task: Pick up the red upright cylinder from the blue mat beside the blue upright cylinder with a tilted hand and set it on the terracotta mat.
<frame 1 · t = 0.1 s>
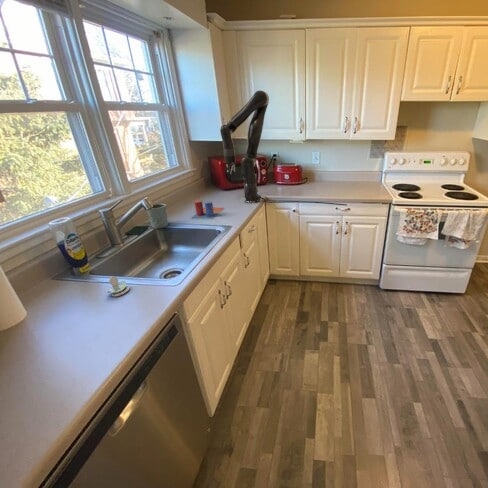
hand: (231, 178, 204), 17 cm above the countertop, tool pointing down, fingers open, 8 cm apart
terracotta mat: (212, 209, 191), on the countertop
drinking glass: (160, 225, 163), on the countertop
red upright cylinder: (200, 214, 180), resting on blue mat
blue upright cylinder: (210, 215, 179), resting on blue mat
blue mat: (205, 216, 179), on the countertop
pacifier: (119, 292, 102), on the countertop
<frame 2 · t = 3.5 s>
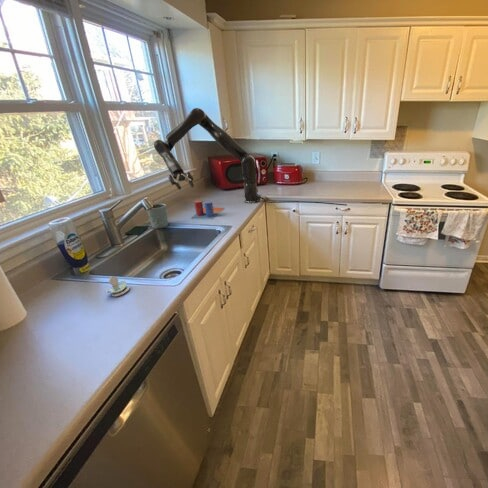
hand: (186, 187, 180), 16 cm above the countertop, tool tilted 45°, fingers open, 8 cm apart
nothing on the countertop moved.
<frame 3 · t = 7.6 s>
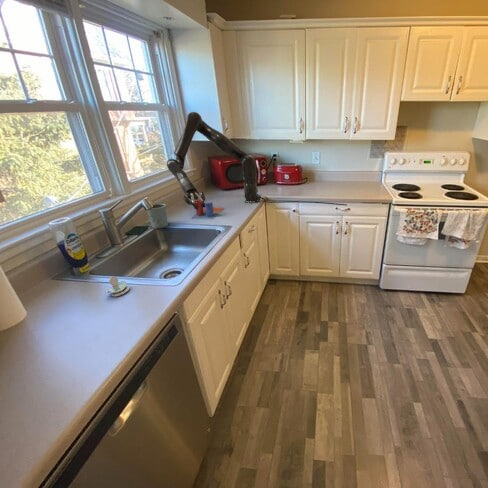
hand: (200, 207, 177), 5 cm above the countertop, tool tilted 45°, fingers closed on red upright cylinder, 4 cm apart
red upright cylinder: (200, 214, 180), resting on blue mat, touching gripper
everything else where it was.
when the fingers open (5 cm above the countertop, at t = 15.5 s): red upright cylinder stays where it is, resting on terracotta mat.
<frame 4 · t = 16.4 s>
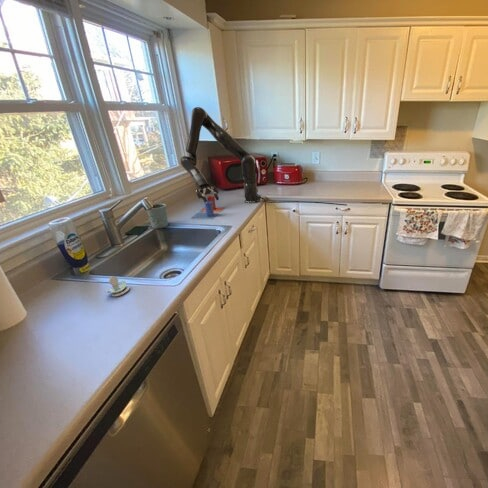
hand: (212, 200, 188), 7 cm above the countertop, tool tilted 45°, fingers open, 8 cm apart
red upright cylinder: (212, 209, 191), resting on terracotta mat
everything else where it was.
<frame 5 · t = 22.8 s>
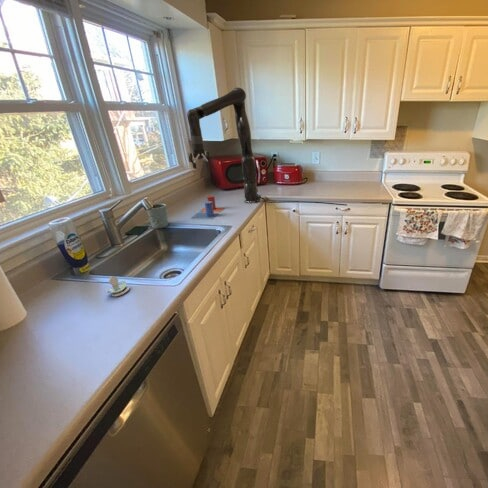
hand: (200, 167, 191), 26 cm above the countertop, tool pointing down, fingers open, 8 cm apart
nothing on the countertop moved.
at the end: red upright cylinder inside the target area (0.2 cm from its centre), resting on terracotta mat; red upright cylinder tilted 0°; blue upright cylinder moved 0.0 cm from its start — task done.
